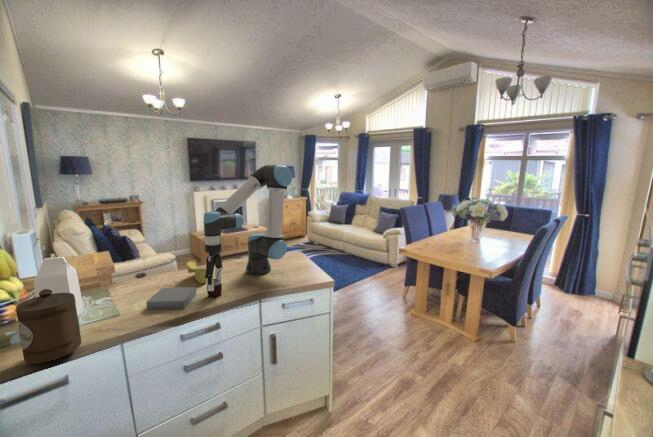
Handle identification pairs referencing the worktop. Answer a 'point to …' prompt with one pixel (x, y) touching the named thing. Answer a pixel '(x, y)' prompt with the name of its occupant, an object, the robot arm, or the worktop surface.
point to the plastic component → (197, 271)
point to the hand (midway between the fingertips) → (214, 285)
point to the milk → (58, 279)
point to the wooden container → (48, 326)
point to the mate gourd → (216, 287)
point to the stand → (171, 298)
